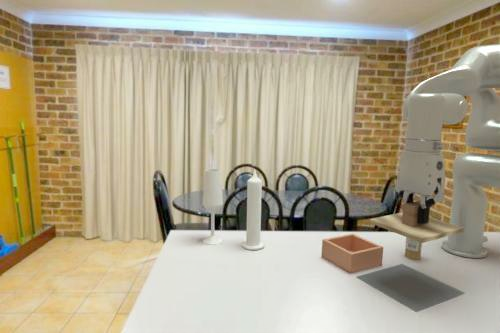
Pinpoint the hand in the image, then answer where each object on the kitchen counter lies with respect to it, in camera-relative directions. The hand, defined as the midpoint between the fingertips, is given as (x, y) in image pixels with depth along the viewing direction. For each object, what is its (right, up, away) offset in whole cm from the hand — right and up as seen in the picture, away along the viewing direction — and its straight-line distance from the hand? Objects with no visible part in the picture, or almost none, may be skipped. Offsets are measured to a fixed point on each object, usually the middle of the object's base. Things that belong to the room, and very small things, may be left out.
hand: (415, 220), depth 86 cm
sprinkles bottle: (+8, -15, +20) cm, 26 cm away
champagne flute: (-53, -12, +31) cm, 63 cm away
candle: (-40, -13, +27) cm, 50 cm away
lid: (0, -2, 0) cm, 2 cm away
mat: (-1, -17, +3) cm, 18 cm away
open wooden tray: (-11, -15, +16) cm, 25 cm away
